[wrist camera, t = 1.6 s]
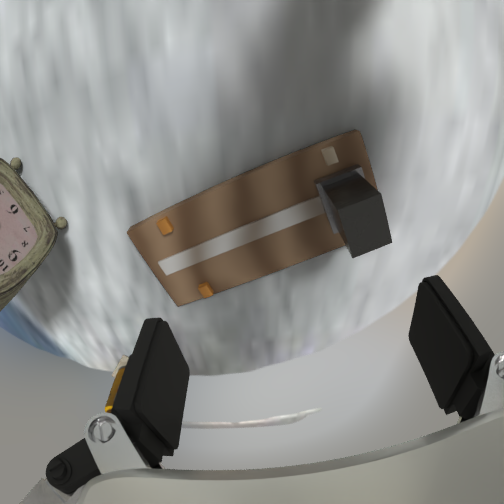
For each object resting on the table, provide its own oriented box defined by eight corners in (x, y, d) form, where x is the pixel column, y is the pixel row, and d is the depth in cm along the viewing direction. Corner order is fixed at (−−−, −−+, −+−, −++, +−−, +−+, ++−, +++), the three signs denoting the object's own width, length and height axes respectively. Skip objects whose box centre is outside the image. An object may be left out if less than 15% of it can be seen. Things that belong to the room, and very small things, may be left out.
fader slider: (357, 163, 29) (384, 186, 23) (372, 213, 32) (397, 244, 26) (313, 180, 30) (330, 207, 24) (331, 229, 33) (348, 264, 27)
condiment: (111, 375, 51) (94, 426, 40) (123, 354, 47) (103, 411, 37) (145, 391, 53) (133, 443, 42) (161, 372, 49) (147, 429, 39)
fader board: (355, 129, 29) (362, 132, 27) (382, 223, 35) (389, 231, 33) (130, 226, 35) (124, 235, 33) (180, 299, 41) (176, 310, 39)
